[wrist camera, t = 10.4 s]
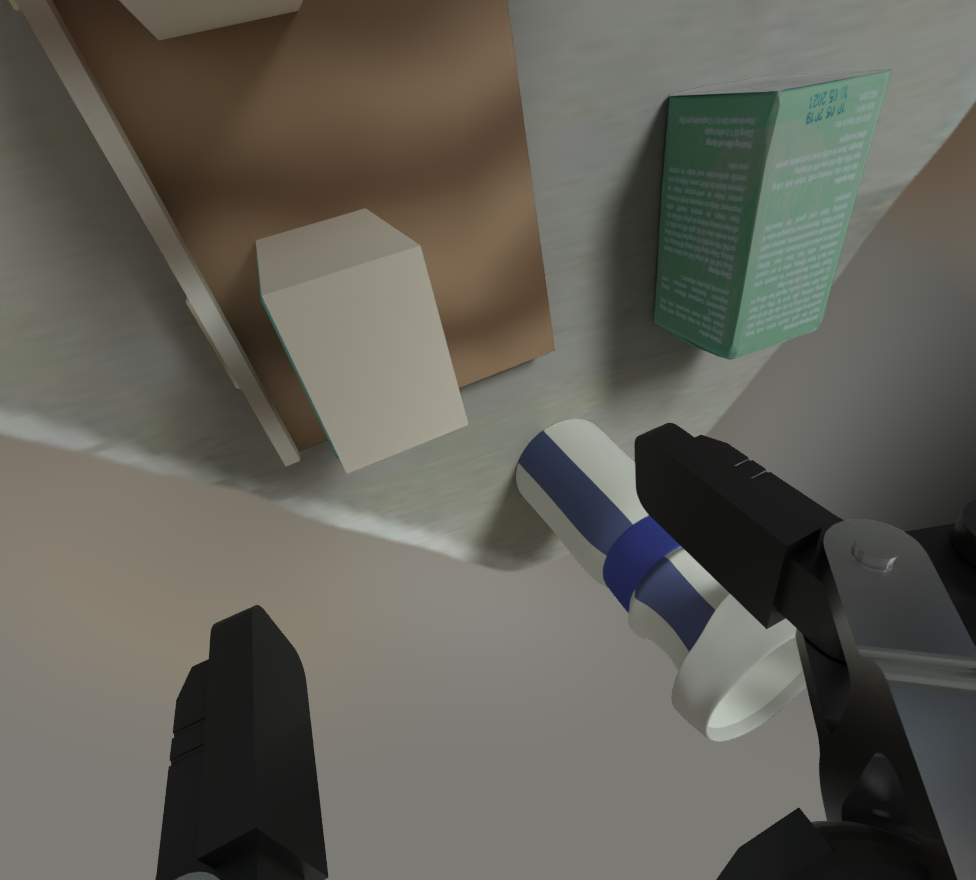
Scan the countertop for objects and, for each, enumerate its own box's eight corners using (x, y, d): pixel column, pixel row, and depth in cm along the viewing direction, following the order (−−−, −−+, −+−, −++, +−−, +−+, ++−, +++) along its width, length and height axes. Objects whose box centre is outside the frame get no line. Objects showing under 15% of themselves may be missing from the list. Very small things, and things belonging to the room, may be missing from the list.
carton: (251, 241, 22) (256, 297, 15) (365, 208, 23) (420, 245, 16) (315, 379, 26) (343, 475, 19) (409, 346, 27) (468, 424, 20)
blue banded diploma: (558, 392, 34) (976, 745, 15) (627, 439, 39) (1007, 749, 20) (488, 484, 36) (779, 910, 17) (563, 518, 41) (854, 876, 22)
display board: (-96, -212, 14) (-150, -265, 12) (452, -269, 18) (478, -318, 16) (278, 444, 28) (281, 468, 26) (543, 342, 32) (563, 356, 30)
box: (650, 329, 35) (733, 369, 29) (661, 95, 27) (777, 85, 21) (733, 301, 37) (827, 333, 31) (766, 74, 29) (900, 60, 23)
